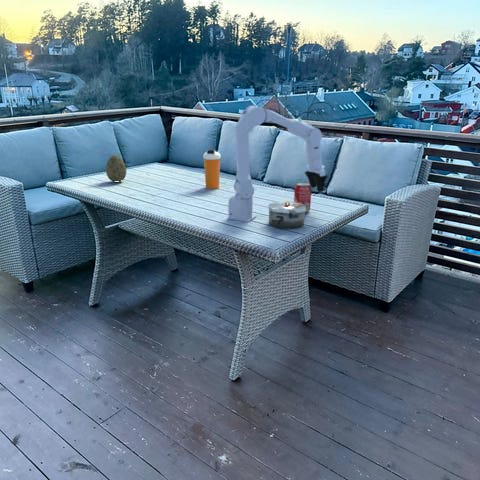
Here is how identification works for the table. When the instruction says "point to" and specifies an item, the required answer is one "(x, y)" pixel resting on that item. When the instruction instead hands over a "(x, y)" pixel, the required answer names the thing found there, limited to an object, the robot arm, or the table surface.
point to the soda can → (303, 194)
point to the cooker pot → (286, 220)
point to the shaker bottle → (212, 168)
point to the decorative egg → (115, 168)
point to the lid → (287, 208)
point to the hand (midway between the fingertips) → (317, 189)
